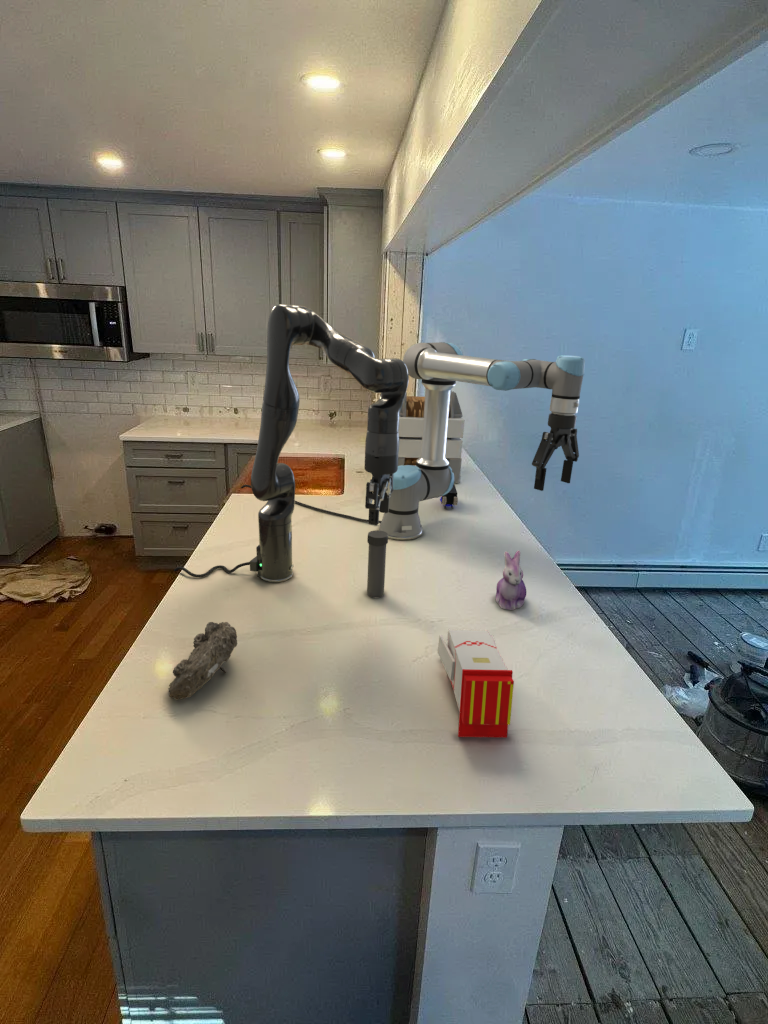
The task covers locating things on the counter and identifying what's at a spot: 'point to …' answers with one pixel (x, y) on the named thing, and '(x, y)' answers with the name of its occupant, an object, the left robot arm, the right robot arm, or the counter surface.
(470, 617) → the counter surface
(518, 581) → the figurine
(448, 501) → the figurine character
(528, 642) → the counter surface
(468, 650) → the toy
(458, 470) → the white slatted crate
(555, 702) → the counter surface
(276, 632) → the counter surface
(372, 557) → the jar
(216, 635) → the fossil
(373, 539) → the lid
